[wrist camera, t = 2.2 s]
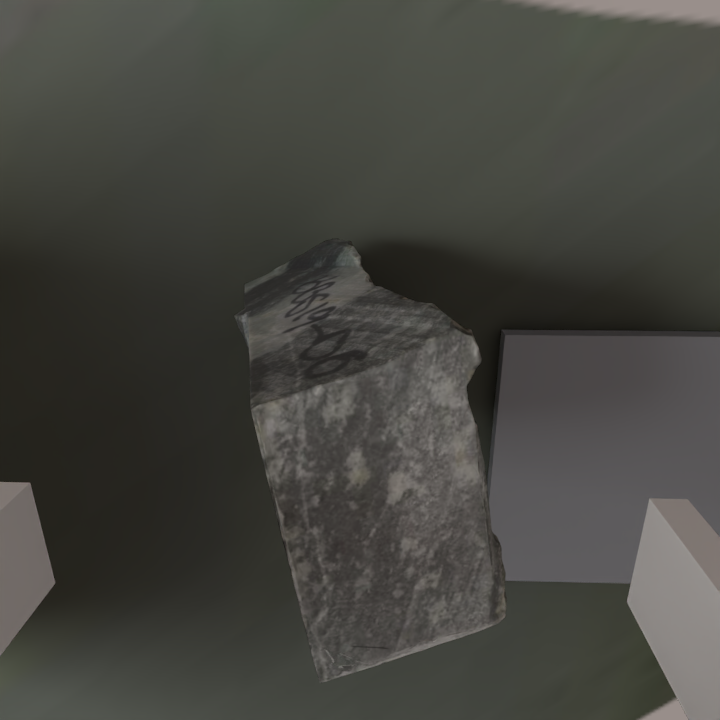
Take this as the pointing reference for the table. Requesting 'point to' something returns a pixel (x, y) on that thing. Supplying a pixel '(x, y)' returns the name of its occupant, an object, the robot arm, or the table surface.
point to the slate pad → (599, 445)
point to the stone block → (371, 461)
